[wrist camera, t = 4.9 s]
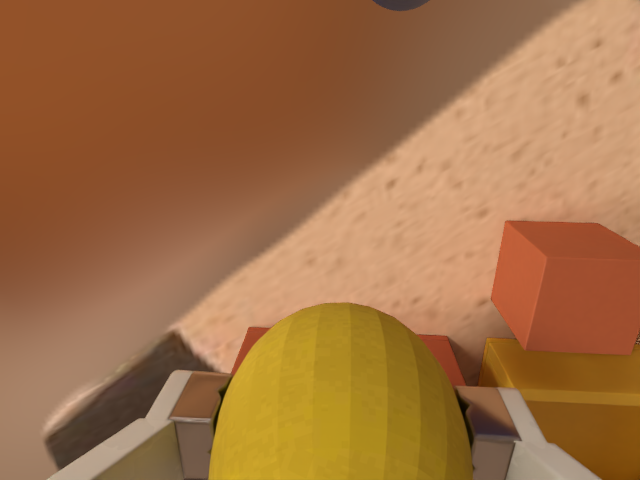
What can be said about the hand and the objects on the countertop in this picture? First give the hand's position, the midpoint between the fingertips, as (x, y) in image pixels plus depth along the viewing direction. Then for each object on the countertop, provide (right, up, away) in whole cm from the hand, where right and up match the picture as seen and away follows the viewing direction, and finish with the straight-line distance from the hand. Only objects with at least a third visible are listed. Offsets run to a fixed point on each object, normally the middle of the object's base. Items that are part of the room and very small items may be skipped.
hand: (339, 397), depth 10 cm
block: (+12, +3, +13) cm, 18 cm away
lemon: (0, +1, +3) cm, 3 cm away
